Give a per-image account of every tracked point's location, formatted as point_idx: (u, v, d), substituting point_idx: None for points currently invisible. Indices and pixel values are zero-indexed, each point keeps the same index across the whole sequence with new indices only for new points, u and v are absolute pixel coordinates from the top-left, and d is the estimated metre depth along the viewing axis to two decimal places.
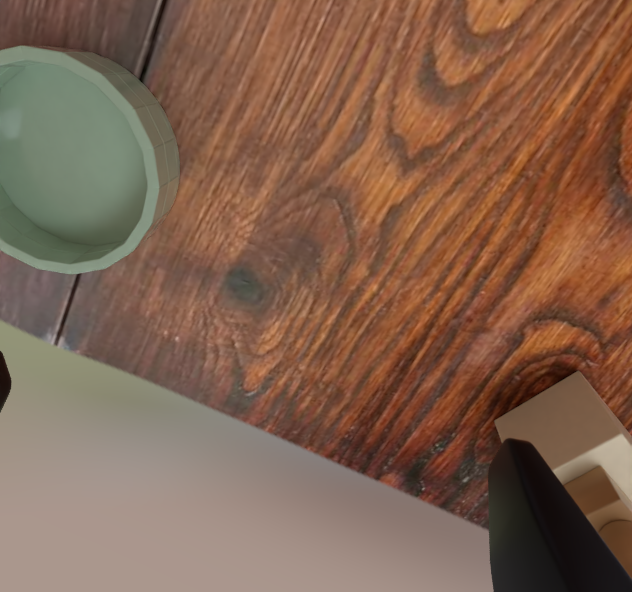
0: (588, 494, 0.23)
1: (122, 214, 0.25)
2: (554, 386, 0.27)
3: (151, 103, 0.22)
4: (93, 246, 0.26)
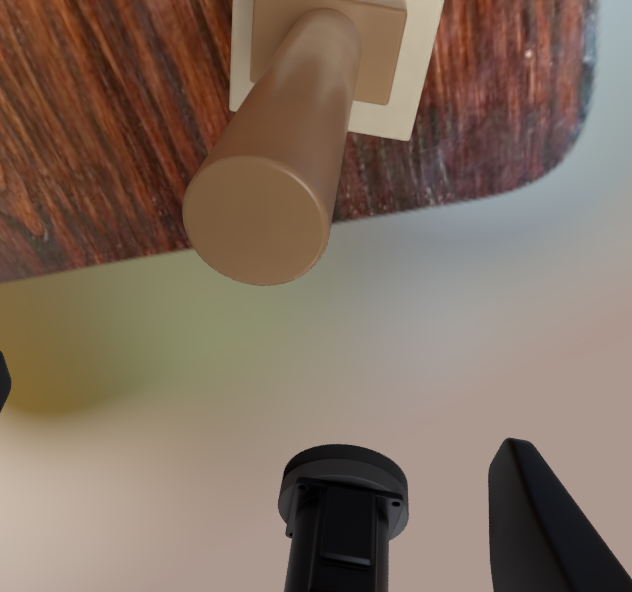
0: None
1: None
2: None
3: None
4: None
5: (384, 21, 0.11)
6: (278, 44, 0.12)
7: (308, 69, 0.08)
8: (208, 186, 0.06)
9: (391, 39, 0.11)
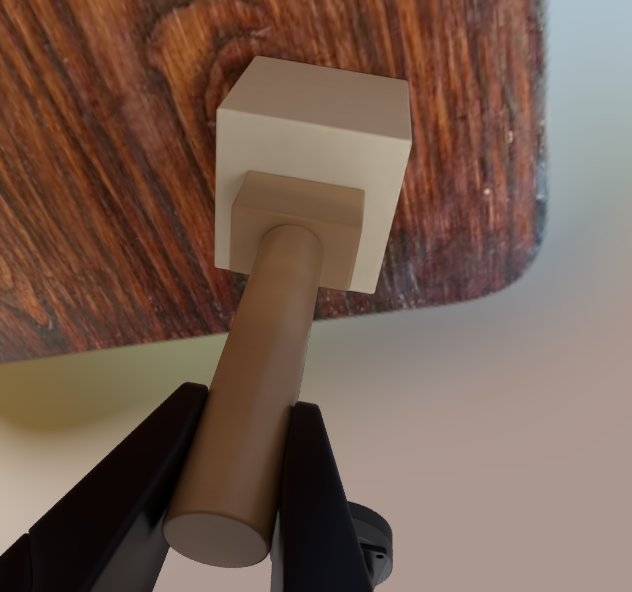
0: None
1: None
2: None
3: None
4: None
5: (342, 234, 0.13)
6: (253, 246, 0.14)
7: (266, 352, 0.10)
8: (179, 522, 0.07)
9: (349, 246, 0.13)
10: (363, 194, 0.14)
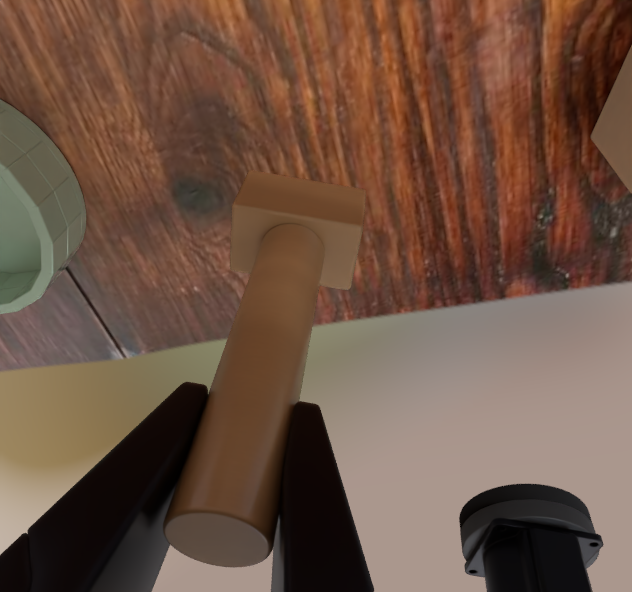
0: None
1: None
2: None
3: None
4: None
5: (343, 233, 0.13)
6: (253, 245, 0.14)
7: (267, 352, 0.10)
8: (181, 521, 0.07)
9: (350, 246, 0.13)
10: (364, 193, 0.14)
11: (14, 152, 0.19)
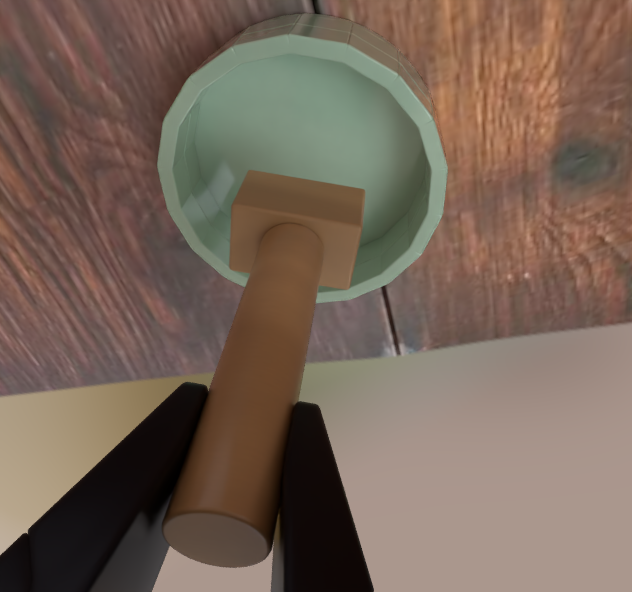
0: None
1: (391, 183, 0.19)
2: None
3: (351, 27, 0.16)
4: (381, 238, 0.20)
5: (342, 233, 0.13)
6: (253, 245, 0.14)
7: (267, 350, 0.10)
8: (180, 521, 0.07)
9: (350, 245, 0.13)
10: (363, 193, 0.14)
11: (426, 101, 0.16)
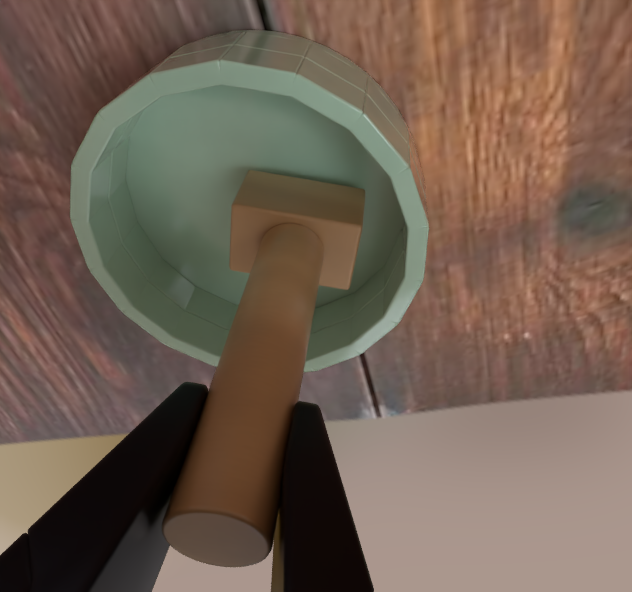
0: None
1: (363, 232, 0.16)
2: None
3: (306, 48, 0.13)
4: (354, 294, 0.17)
5: (343, 233, 0.13)
6: (253, 245, 0.14)
7: (267, 351, 0.10)
8: (180, 521, 0.07)
9: (349, 246, 0.13)
10: (363, 193, 0.14)
11: (402, 142, 0.13)
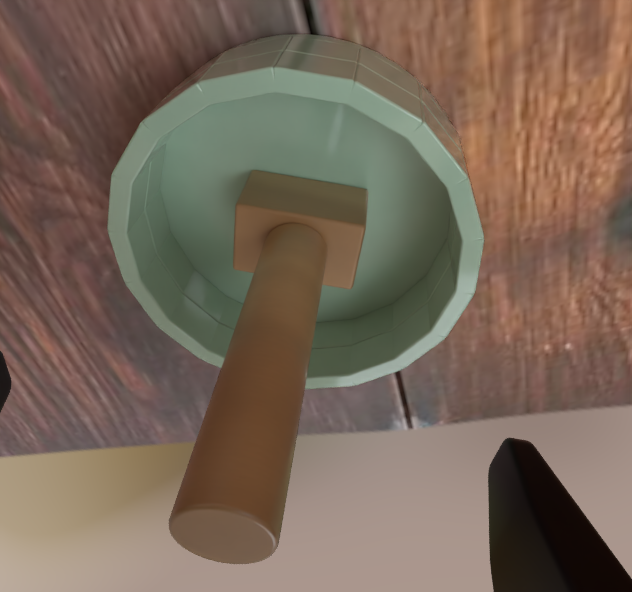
0: None
1: (405, 242, 0.15)
2: None
3: (357, 53, 0.12)
4: (392, 305, 0.17)
5: (346, 232, 0.13)
6: (256, 245, 0.14)
7: (272, 350, 0.10)
8: (187, 518, 0.07)
9: (353, 245, 0.13)
10: (366, 193, 0.14)
11: (457, 151, 0.12)
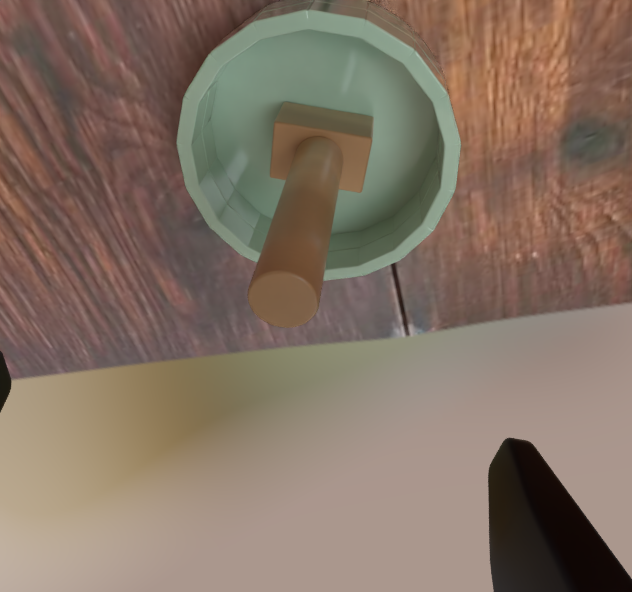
0: None
1: (403, 161, 0.20)
2: None
3: (367, 5, 0.16)
4: (393, 216, 0.21)
5: (357, 144, 0.17)
6: (289, 155, 0.18)
7: (308, 202, 0.14)
8: (261, 283, 0.12)
9: (362, 154, 0.18)
10: (372, 119, 0.19)
11: (440, 77, 0.16)
